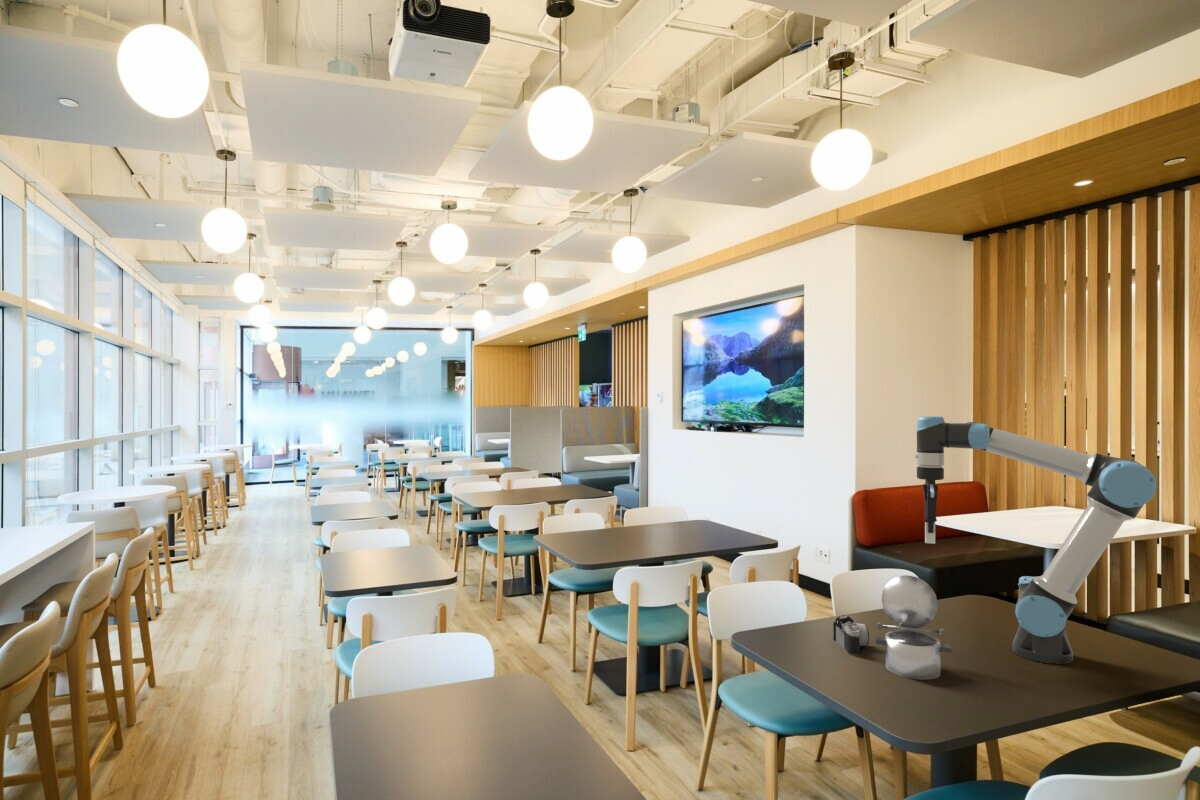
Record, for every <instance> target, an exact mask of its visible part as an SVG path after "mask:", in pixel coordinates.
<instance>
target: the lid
mask: <svg viewBox="0 0 1200 800" xmlns="http://www.w3.org/2000/svg"><path fill="white" fill-rule="evenodd" d="M881 604H882V608H883V611H884V613H885V614H886V616H888V619H890V620H891V621H892V622H894V623H895V624H897V625H898V626H897V625H888V624H881V629H882V628H883V629H892V630H893V629H894V630H907V631H916V632H921V633H931V634H940V629H939V630H937V629H929V628H928V629H927V628H923V627H925V626H927V625H928V624H930V623H931V622H932V621H933V619H934V618H935V617H936V615H937V612H938V599H937V595H936V593H935V591H934V589H933V588H932V587H931V586H930V584H928V583H927V582H926V581H925V580H923V579H921V578H919V577H917V576H914V575H908V574H907V575H900V576H896V577H893V578H892V579H891V580H889V581H888V582H887V583H886V585H885V586H884V588H883V590H882V593H881Z"/></svg>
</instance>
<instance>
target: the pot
mask: <svg viewBox="0 0 1200 800" xmlns="http://www.w3.org/2000/svg"><path fill="white" fill-rule="evenodd" d="M876 627H877V630H881V629H882V623H881V622H879V621H877V622H876ZM939 635H940V636H941V637H945V629H944V628H939ZM875 644H876V645H882V646H885V647H884V648H885V668H886V669H887V671H889V672H890V673H893V674H894V675H897V676H900V677H903V678H906V679H912V680H923V681H924V680H927V681H928V680H934V679H938V678H939V677H941V652H944V653H952V648H951V645H950V643H949V644H948V643H941V641H940V639H939V638H937V637H936V636H933V635H931V634H929V633H926V632H920V631H911V630H901V629H895V630H891V631H888V632H887V633H885V635H884V637H883V636H875Z"/></svg>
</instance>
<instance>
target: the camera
mask: <svg viewBox="0 0 1200 800" xmlns="http://www.w3.org/2000/svg"><path fill="white" fill-rule="evenodd" d="M832 625H833V641H836V643H837V644H838V645H839V646H840V647H841V648H842V649H843V650H844V652H846V654H847V655H850V656H860V653H861V652H860V647H863V646H868V645H869V644H870V631H869V629H868V625H867V624H866V623H858V622H856V620H855V619H853V617H851V616H850V615H846V614H845V613H843V614H838V615H837V616H836V617H835V619H834V621H833V623H832Z"/></svg>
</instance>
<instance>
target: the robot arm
mask: <svg viewBox="0 0 1200 800" xmlns="http://www.w3.org/2000/svg"><path fill="white" fill-rule="evenodd" d="M945 448H953V449H972V450H981V451H983V452H984V451H985V452H988V453H991V454H995V455H998V456H1001V457H1005V458H1009V459H1011V460H1015V461H1017V462H1021V463H1024V464H1028V465H1032V466H1035V467H1038V468H1041V469H1045V470H1047V471H1051V472H1055V473H1058V474H1062V475H1065V476H1067V477H1071V478H1075V479H1078V480H1080V481H1081V482H1082V484H1083V485H1086V486H1090V487H1091V488H1090V490H1089V491H1088V492H1087V494H1086V498H1087V501H1088V505H1087V506H1086V507H1085V508H1084V509H1085V510H1083V512H1082V514H1081V515H1080V517H1079V519H1078V520H1077V522H1076V523H1075V525H1074V526H1073V528H1072V529H1071V531H1070V532H1069V534H1068V535H1067V537H1066V538H1065V540H1064V541H1063V543H1062V544H1061V546H1060V547H1059V549H1058V551H1057V552H1056V554H1055V556H1054V557H1053V558H1052V560H1051V562H1049V564H1048V565H1047V567H1046V569H1045V570H1044V571H1043V574H1042V575H1040V576H1039V575H1038V576H1030V575H1029V576H1027V575H1025V576H1024V575H1023V576H1021V577H1019V579H1018V583H1017V586H1018V598H1017V601H1016V604H1015V608H1014V613H1015V614H1014V615H1015V617H1016V619H1017V622H1018V628H1017V631H1016V633H1015V636H1014V638H1013V640H1012V652H1013V653H1014V654H1016V655H1018V656H1019V657H1021V658H1024V659H1026V660H1029V659H1030V661H1033V660H1034V661H1033V662H1037V661H1040V662H1039V663H1042V662H1047V663H1046V664H1049V663H1067V662H1071V661H1072V660H1073V661H1074V652H1073V649H1072V646H1071V643H1070V642H1069V638H1068V636H1067V633H1066V624H1067V619H1068V618H1069V616H1070V615H1071V614H1072V612H1073V610H1075V607H1076V606H1077V605H1078V603H1079V602H1078V599H1077V597H1076V594H1077V592H1078V591H1079V589H1080V588H1081V586H1082V585H1083V583H1084V582H1085V580H1086V578H1087V577H1088V576H1089V574H1090V572H1091V571H1092V570H1093V568H1094V567H1095V566H1096V563H1097V562H1098V561H1099V559H1100V558H1101V556H1102V555H1103V553H1104V551H1106V549H1107V547H1108V546H1109V544H1110V543H1111V541H1112V540H1113V538H1114V537H1115V536H1116V534H1117V532H1119V530H1120V529H1121V527H1122V525H1123V523H1124V522H1126V521H1130V520H1135V519H1136V517H1137V515H1138V514H1139V512H1140V511H1141V510H1142V508H1143V507H1144V505H1145V504H1147V503H1149V502H1150V501H1151V500H1152V499H1153V498H1154V496H1155V495H1156V492H1157V491H1156V490H1157V481H1156V478H1155V476H1154V474H1153V472H1151V471H1150V469H1149V468H1148V467H1147V466H1145V465H1143V464H1141V463H1140V462H1138V461H1137V460H1133V459H1130V458H1124V457H1123V458H1122V457H1117V456H1116V457H1115V456H1109V455H1106V454H1101V453H1096V452H1094V453H1091V454H1087V453H1085V452H1084V453H1083V452H1080V451H1076V450H1073V449H1070V448H1066V447H1062V446H1059V445H1055V444H1053V443H1049V442H1045V441H1041V440H1038V439H1034V438H1031V437H1027V436H1023V435H1020V434H1016V433H1013V432H1009V431H1006V430H1001V429H998V428H995V427H990V426H989V425H988V424H986V423H980V422H975V421H968V422H965V423H964V422H962V423H960V422H959V423H954V422H953V423H952V422H945V418H944V417H943V416H933V415H932V416H926V415H924V416H923V415H922V416H919V417H918V418H917V424H916V455H914V458H915V459H916V464H917V465H918V466H917V467H916V477H917V479H918V480H922V481H923V480H924V484H922V490H923V498H924V499H923V501H924V502H923V503H924V514H923V515H924V519H922V520H923V523H924V543H925V544H931V545H932V544H933V545H934V544H936V522H938V518H937V502H938V501H937V500H938V491H939V486H938V485H937V484H936V481H942V480H943V481H944V479H945V469H944V466H945ZM1073 661H1072V662H1073ZM1072 662H1071V663H1072Z"/></svg>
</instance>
